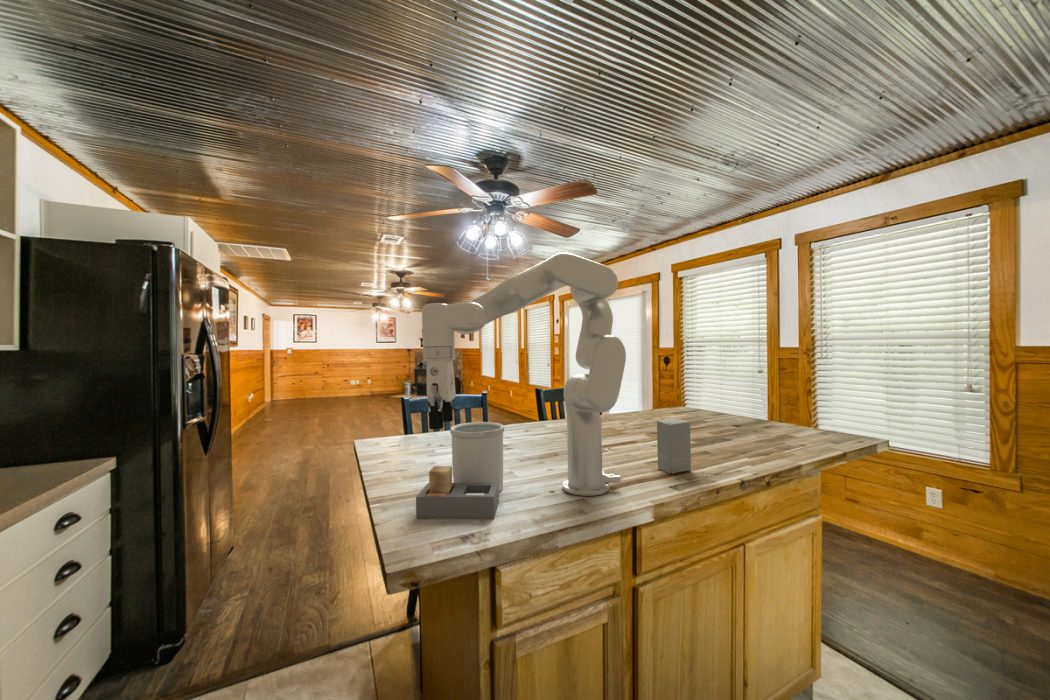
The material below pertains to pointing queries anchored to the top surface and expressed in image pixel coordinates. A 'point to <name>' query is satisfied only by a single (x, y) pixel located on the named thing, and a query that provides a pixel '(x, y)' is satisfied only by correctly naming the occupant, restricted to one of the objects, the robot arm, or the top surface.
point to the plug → (440, 479)
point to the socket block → (459, 502)
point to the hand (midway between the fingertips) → (441, 424)
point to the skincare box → (674, 445)
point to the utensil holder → (477, 453)
